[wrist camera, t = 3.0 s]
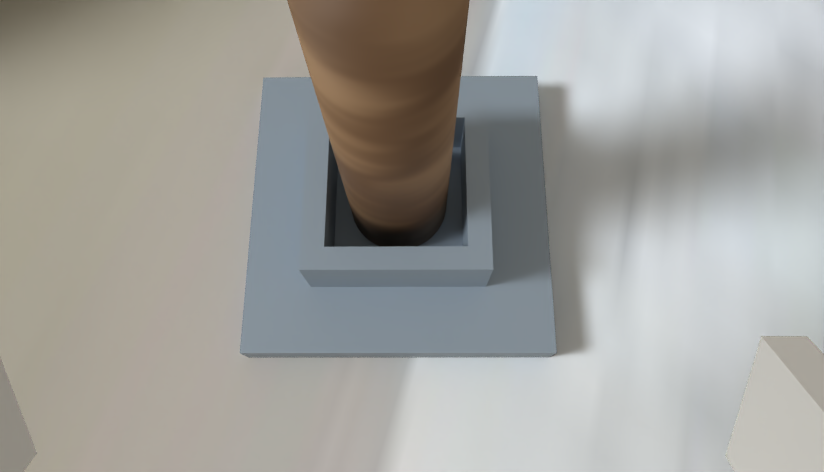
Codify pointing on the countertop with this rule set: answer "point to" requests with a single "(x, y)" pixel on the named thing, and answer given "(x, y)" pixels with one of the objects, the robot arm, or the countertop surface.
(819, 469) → the robot arm
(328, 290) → the socket stand
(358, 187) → the strut
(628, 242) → the countertop surface
